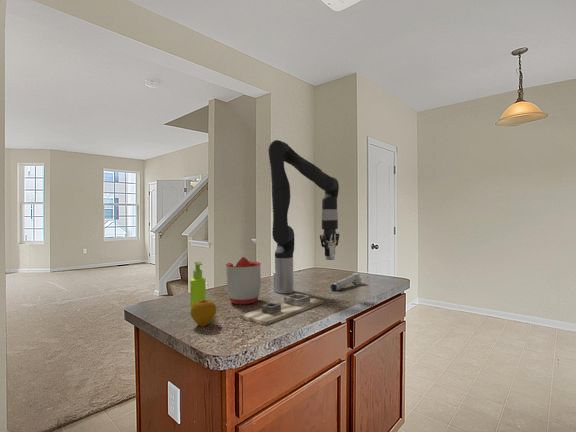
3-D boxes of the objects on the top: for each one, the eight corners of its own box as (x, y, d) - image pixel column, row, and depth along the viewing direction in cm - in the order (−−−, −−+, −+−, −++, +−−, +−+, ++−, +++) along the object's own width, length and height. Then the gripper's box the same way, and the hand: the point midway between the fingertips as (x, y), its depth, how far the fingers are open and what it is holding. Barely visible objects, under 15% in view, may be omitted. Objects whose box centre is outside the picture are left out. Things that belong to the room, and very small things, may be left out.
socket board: (240, 318, 122) (240, 307, 121) (299, 298, 149) (299, 290, 149) (265, 325, 113) (265, 314, 113) (323, 303, 141) (323, 294, 141)
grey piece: (328, 283, 164) (354, 269, 182) (330, 296, 164) (355, 281, 183) (337, 284, 160) (362, 270, 179) (338, 297, 161) (363, 282, 179)
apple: (220, 326, 113) (220, 300, 113) (195, 331, 108) (194, 304, 108) (211, 319, 121) (211, 295, 121) (187, 323, 116) (187, 298, 116)
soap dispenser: (192, 315, 126) (192, 263, 126) (189, 310, 132) (188, 261, 132) (207, 313, 129) (207, 262, 129) (203, 308, 135) (203, 260, 135)
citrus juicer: (249, 294, 157) (248, 253, 157) (268, 302, 143) (267, 257, 143) (218, 300, 148) (218, 256, 148) (236, 308, 134) (235, 260, 134)
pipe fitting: (323, 259, 152) (323, 242, 152) (328, 258, 155) (328, 241, 155) (331, 260, 149) (331, 242, 149) (336, 259, 152) (336, 242, 152)
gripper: (331, 218, 160) (331, 253, 160) (314, 219, 149) (314, 256, 149) (344, 219, 155) (344, 254, 155) (328, 219, 144) (328, 258, 144)
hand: (330, 255), depth 152 cm, fingers closed on pipe fitting, 4 cm apart
